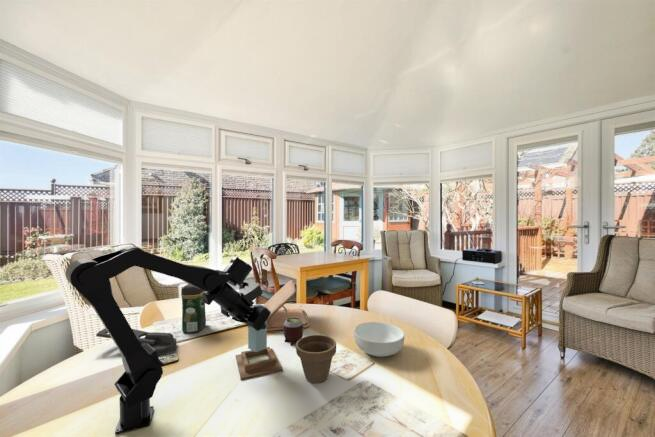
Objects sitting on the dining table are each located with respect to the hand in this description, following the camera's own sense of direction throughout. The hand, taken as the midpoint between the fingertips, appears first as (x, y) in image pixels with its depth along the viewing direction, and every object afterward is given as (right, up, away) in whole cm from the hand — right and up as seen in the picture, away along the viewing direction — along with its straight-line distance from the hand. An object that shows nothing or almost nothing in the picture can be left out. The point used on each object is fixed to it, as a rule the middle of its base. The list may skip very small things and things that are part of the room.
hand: (261, 325), depth 92 cm
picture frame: (-1, -12, 0) cm, 12 cm away
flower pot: (+18, -12, -8) cm, 23 cm away
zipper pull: (-45, -12, +10) cm, 47 cm away
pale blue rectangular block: (-1, -7, -1) cm, 7 cm away
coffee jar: (-33, -11, +26) cm, 43 cm away
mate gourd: (+8, -11, +14) cm, 20 cm away
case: (+2, -11, +34) cm, 36 cm away
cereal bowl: (+38, -12, +7) cm, 41 cm away
